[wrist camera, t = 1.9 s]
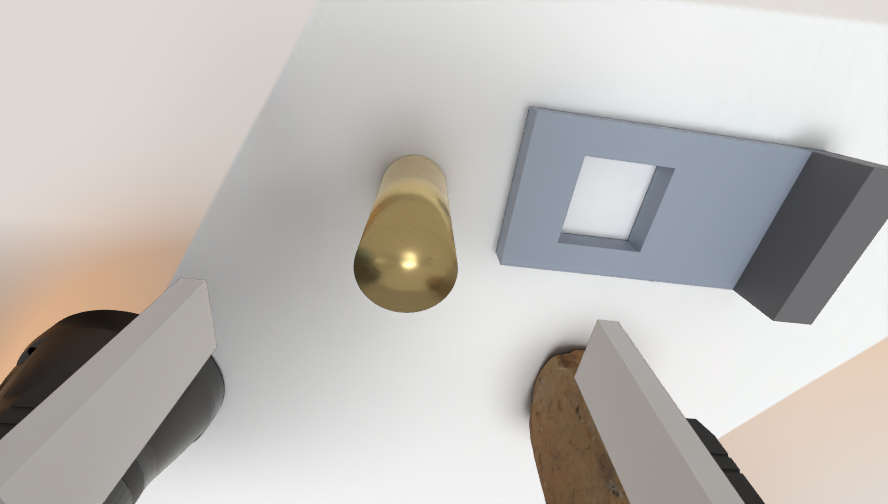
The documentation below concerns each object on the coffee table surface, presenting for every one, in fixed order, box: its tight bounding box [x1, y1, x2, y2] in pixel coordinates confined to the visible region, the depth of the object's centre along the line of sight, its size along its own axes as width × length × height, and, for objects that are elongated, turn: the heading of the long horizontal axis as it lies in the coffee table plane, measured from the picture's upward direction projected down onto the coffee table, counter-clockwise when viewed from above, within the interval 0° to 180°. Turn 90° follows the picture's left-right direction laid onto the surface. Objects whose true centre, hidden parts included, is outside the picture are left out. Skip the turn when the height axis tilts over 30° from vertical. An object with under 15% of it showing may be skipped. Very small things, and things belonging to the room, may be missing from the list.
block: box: [529, 350, 630, 504], centre depth 29 cm, size 11×8×20 cm
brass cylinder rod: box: [354, 155, 458, 313], centre depth 22 cm, size 5×5×12 cm
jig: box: [496, 107, 888, 325], centre depth 26 cm, size 22×11×6 cm, turn 82°
